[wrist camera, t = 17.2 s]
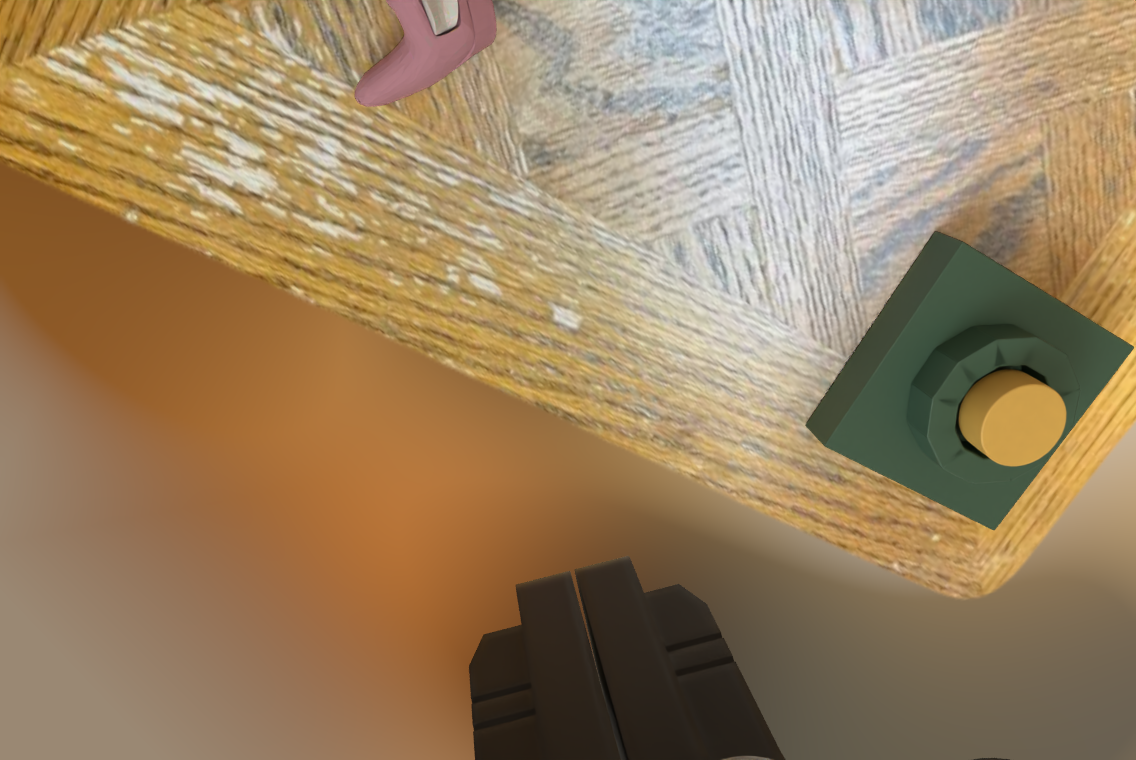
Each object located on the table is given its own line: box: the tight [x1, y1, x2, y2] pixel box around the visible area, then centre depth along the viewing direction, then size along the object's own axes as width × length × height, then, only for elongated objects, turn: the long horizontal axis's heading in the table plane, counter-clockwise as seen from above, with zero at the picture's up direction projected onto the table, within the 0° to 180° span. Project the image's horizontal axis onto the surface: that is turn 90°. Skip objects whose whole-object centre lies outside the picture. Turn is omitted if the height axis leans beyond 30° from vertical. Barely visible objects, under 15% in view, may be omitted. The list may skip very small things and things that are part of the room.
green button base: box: [806, 231, 1134, 530], centre depth 38 cm, size 10×10×4 cm
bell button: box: [959, 369, 1066, 466], centre depth 36 cm, size 4×4×2 cm
